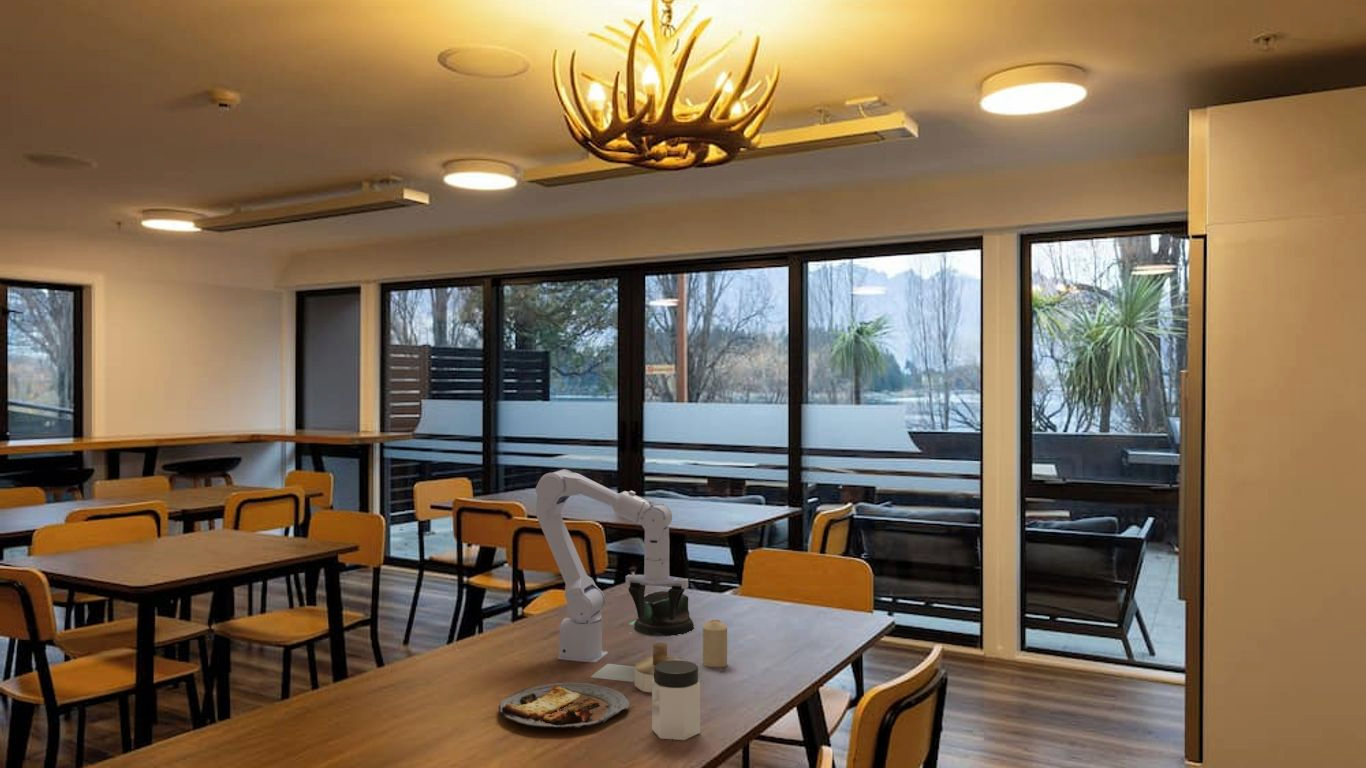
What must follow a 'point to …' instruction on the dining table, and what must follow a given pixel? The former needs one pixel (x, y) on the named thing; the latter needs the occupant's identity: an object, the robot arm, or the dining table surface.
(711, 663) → the candle
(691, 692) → the jar
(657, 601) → the black rounded piece
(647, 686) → the bowl
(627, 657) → the dining table surface
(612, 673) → the mat
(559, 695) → the food plate
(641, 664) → the lid
